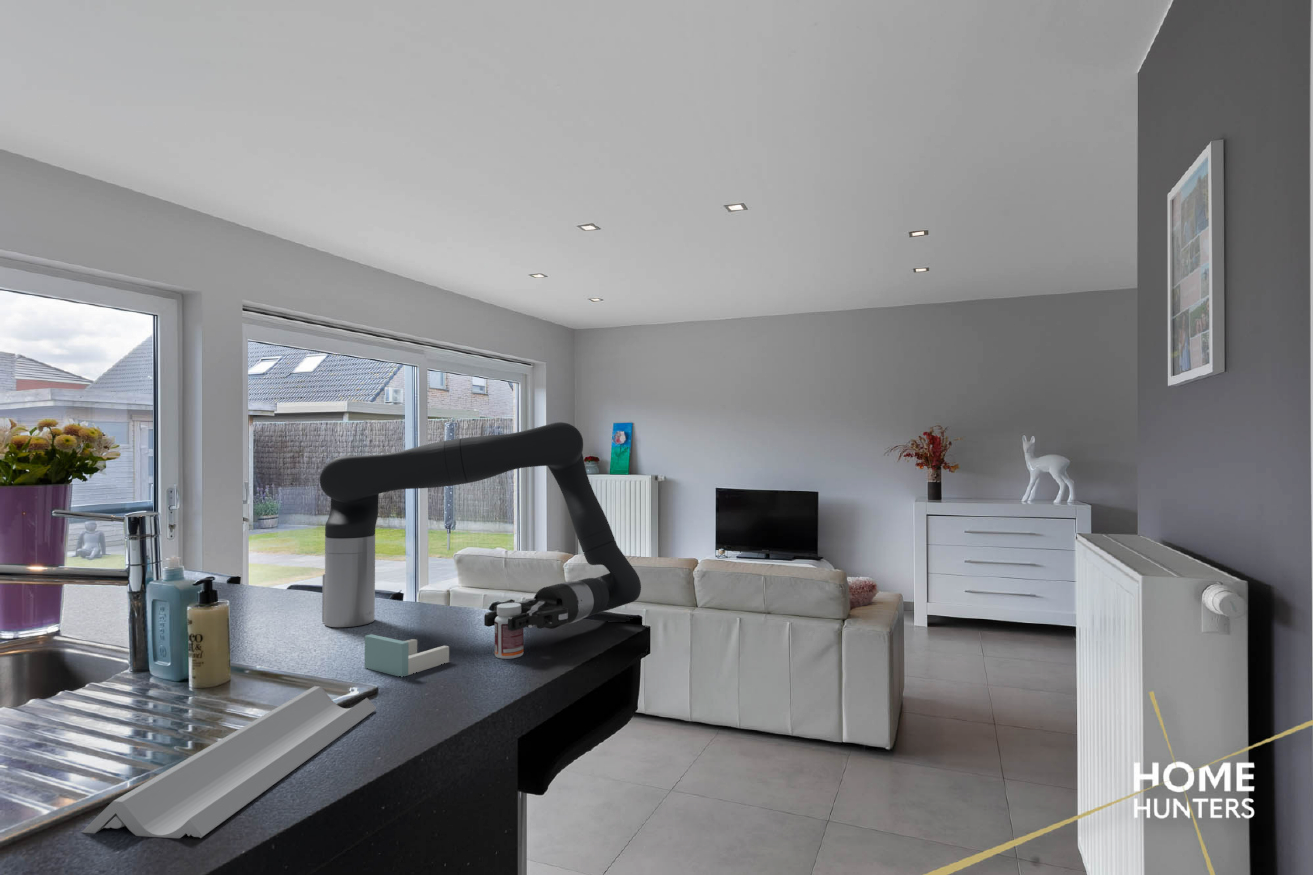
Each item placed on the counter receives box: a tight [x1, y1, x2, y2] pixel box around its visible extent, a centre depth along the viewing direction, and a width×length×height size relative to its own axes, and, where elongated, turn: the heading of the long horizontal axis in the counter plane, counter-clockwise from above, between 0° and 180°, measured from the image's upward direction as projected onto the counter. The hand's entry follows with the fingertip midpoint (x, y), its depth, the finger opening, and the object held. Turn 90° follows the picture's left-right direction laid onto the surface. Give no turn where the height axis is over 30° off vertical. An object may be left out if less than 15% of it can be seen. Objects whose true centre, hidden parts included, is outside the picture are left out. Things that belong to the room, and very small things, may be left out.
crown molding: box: [80, 685, 377, 839], centre depth 79 cm, size 31×12×4 cm, turn 174°
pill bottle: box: [494, 603, 524, 660], centre depth 120 cm, size 5×5×8 cm
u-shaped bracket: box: [364, 634, 450, 678], centre depth 114 cm, size 9×9×5 cm
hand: (497, 622), depth 118 cm, fingers closed on pill bottle, 4 cm apart
